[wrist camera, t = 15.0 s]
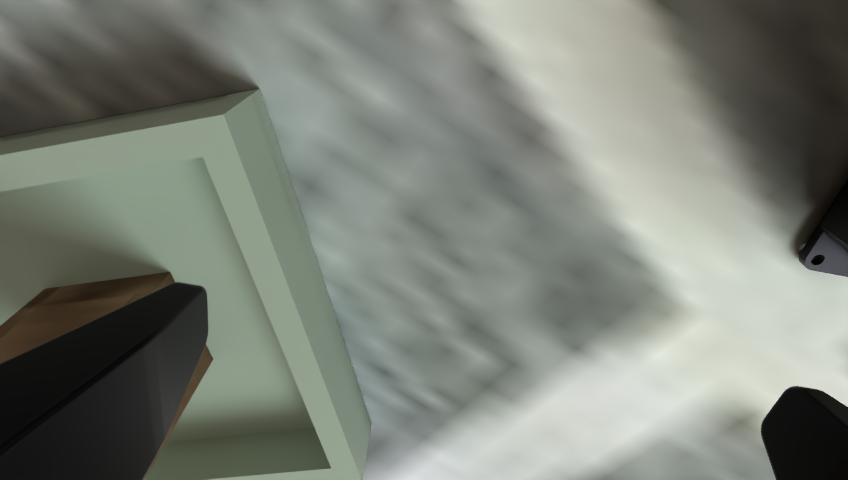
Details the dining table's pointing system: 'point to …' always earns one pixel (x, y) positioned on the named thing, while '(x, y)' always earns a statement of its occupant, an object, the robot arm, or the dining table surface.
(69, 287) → the walnut crate
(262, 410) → the green square tray
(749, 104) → the dining table surface
